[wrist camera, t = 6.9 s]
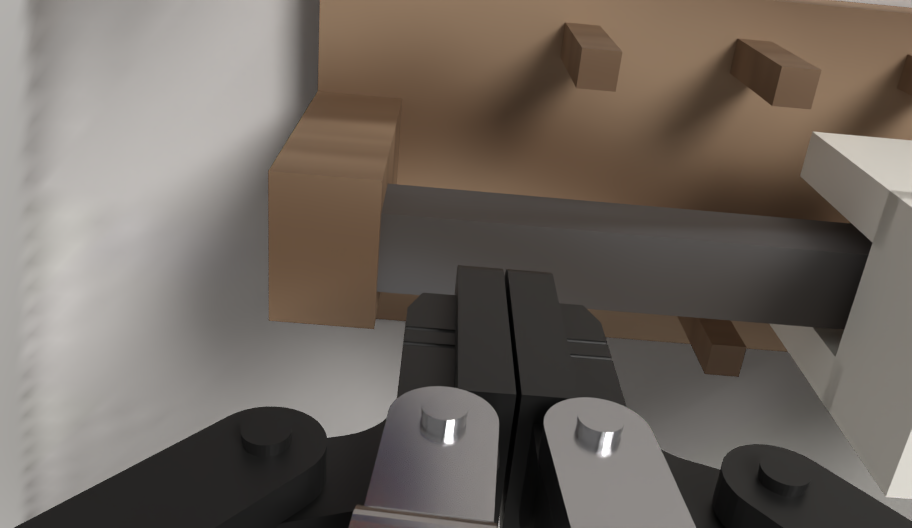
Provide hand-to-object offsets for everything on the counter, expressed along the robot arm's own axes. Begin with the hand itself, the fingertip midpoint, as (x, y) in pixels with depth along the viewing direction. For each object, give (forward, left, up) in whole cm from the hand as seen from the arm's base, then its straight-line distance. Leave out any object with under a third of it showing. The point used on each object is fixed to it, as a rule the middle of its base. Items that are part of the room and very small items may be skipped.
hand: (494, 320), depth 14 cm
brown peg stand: (0, +6, -9) cm, 11 cm away
